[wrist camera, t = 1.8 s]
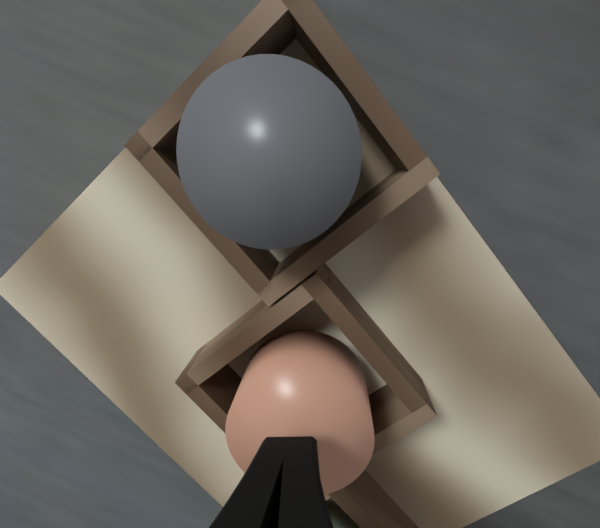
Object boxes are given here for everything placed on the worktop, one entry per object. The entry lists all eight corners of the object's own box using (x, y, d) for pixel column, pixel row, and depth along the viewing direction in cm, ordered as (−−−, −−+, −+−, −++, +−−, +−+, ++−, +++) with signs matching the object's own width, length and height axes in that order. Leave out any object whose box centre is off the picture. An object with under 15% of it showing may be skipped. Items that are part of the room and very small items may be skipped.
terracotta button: (313, 305, 12) (308, 343, 10) (391, 395, 13) (405, 452, 10) (220, 374, 13) (195, 424, 11) (297, 454, 14) (290, 518, 11)
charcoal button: (289, 44, 10) (276, 6, 8) (384, 168, 11) (400, 171, 8) (182, 150, 11) (139, 147, 9) (275, 257, 12) (259, 283, 9)
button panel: (293, -7, 12) (278, -69, 9) (610, 422, 15) (686, 493, 12) (17, 277, 16) (-65, 308, 13) (319, 571, 19) (316, 656, 16)
